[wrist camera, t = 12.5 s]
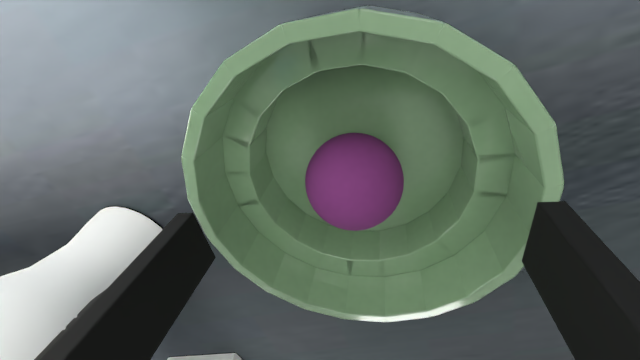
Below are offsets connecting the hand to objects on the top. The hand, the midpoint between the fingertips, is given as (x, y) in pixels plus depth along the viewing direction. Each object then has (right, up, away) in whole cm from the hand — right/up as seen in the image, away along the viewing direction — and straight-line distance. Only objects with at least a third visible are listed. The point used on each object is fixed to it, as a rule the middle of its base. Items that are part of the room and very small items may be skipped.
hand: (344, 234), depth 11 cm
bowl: (+1, +4, +6) cm, 7 cm away
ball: (+1, +3, +5) cm, 6 cm away
